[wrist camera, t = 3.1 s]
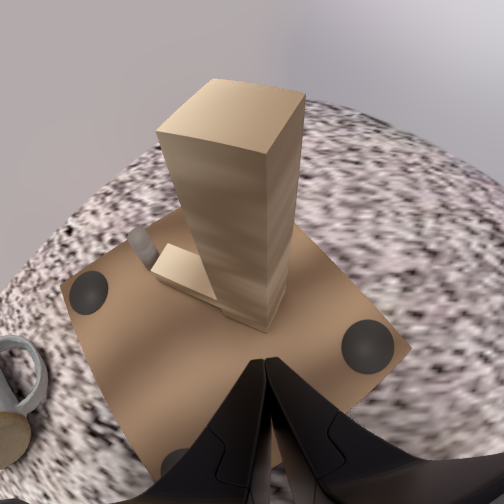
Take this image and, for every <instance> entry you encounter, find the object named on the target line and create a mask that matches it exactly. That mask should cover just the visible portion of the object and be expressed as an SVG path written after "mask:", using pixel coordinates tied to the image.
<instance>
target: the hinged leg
mask: <svg viewBox="0 0 504 504" xmlns="http://www.w3.org/2000/svg"><path fill="white" fill-rule="evenodd" d="M305 99H306V93H302V92H297V91H292V90H288V89H283V88H277V87H272V86H266V85H260V84H253V83H246V82H239V81H231V80H223V79H212V80H211V81H210V82H208V83H207V84H206V85H205V86H204V87H203V88H201V89H200V90H199V91H198V92H197V93H196V94H194V95H193V96H192V97H191V98H190V99H189V100H188V101H187V102H185V103H184V104H183V105H182V106H181V107H180V108H179V109H178V110H177V111H176V112H175V113H173V114H172V115H171V116H170V117H169V118H168V119H167V120H166V121H165V122H164V123H163V124H162V125H161V126H160V127H159V128H158V129H157V130H156V134H157V137H158V139H159V143H160V146H161V149H162V152H163V155H164V158H165V161H166V164H167V167H168V170H169V173H170V176H171V179H172V181H173V184H174V187H175V190H176V193H177V196H178V199H179V201H180V204H181V207H182V210H183V213H184V215H185V218H186V221H187V223H188V226H189V229H190V232H191V234H192V237H193V240H194V242H195V245H196V248H197V250H198V253H199V255H200V256H199V255H197V254H194V253H192V252H189V251H187V250H184V249H182V248H179V247H176V246H174V245H171V244H169V243H168V244H167V245H166V247H165V248H164V250H163V251H162V253H161V255H160V256H159V258H158V259H157V261H156V263H155V264H154V266H153V267H152V269H151V272H152V274H153V275H154V276H155V278H156V279H157V280H159V281H161V282H163V283H165V284H167V285H169V286H172V287H174V288H176V289H178V290H180V291H182V292H185V293H187V294H189V295H191V296H194V297H196V298H198V299H200V300H203V301H205V302H207V303H210V304H212V305H214V306H217V307H219V308H221V311H222V313H223V315H224V316H227V317H229V318H231V319H234V320H236V321H239V322H241V323H243V324H246V325H248V326H251V327H253V328H256V329H258V330H261V331H263V332H266V333H267V332H268V330H269V328H270V325H271V323H272V321H273V319H274V316H275V314H276V312H277V309H278V307H279V305H280V302H281V300H282V298H283V295H284V293H285V288H286V281H287V274H288V266H289V258H290V250H291V242H292V234H293V225H294V216H295V207H296V198H297V189H298V179H299V169H300V159H301V148H302V137H303V125H304V112H305Z"/></svg>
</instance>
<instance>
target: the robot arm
mask: <svg viewBox="0 0 504 504" xmlns="http://www.w3.org/2000/svg"><path fill="white" fill-rule="evenodd" d="M271 419H272V422H271ZM272 425H273V430H274V433H275V437H276V440H277V444H278V447H279V451H280V454H281V458H282V461H283V464H284V468H285V471H286V475H287V478H288V481H289V485H290V488H291V491H292V494H293V498H294V501H295V504H504V452H503V453H499V454H493V455H487V456H480V457H472V458H463V459H452V460H436V461H432V460H425V459H421V458H418V457H415V456H413V455H411V454H409V453H407V452H405V451H403V450H401V449H399V448H398V447H396V446H394V445H392V444H390V443H388V442H387V441H385V440H383V439H381V438H380V437H378V436H376V435H374V434H373V433H371V432H370V431H368V430H366V429H365V428H363V427H362V426H360V425H359V424H358V423H356V422H355V421H354V420H352V419H351V418H350V417H348V416H347V415H346V414H345V413H343V412H342V411H339V409H338V408H337V407H336V406H335V405H334V404H332V403H331V402H330V401H329V400H328V399H326V398H325V397H324V396H323V395H322V394H320V393H319V392H318V391H317V390H316V389H315V388H313V387H312V386H311V385H310V384H309V383H308V382H306V381H305V380H304V379H303V378H302V377H301V376H299V375H298V374H297V373H296V372H295V371H294V370H293V369H291V368H290V367H289V366H288V365H287V364H286V363H285V362H284V361H282V360H281V359H280V358H279V357H270V358H265V361H264V359H262V358H261V359H252V360H250V361H249V363H248V364H247V366H246V367H245V369H244V370H243V372H242V373H241V375H240V376H239V378H238V380H237V381H236V383H235V384H234V386H233V387H232V389H231V390H230V392H229V393H228V395H227V396H226V398H225V399H224V401H223V402H222V403H221V405H220V406H219V408H218V409H217V411H216V412H215V414H214V415H213V417H212V418H211V420H210V421H209V422H208V424H207V425H206V427H205V428H204V429H203V431H202V432H201V434H200V435H199V436H198V438H197V439H196V440H195V442H194V443H193V444H192V445H191V447H190V448H189V449H188V450H187V451H186V452H185V453H184V454H183V455H182V457H181V458H180V459H179V460H178V461H177V462H176V463H175V464H174V465H173V466H172V467H171V468H170V469H169V470H168V471H167V472H166V473H165V474H164V475H163V476H162V477H161V478H160V479H158V480H157V481H156V482H155V483H154V484H153V485H152V486H151V487H150V488H149V489H148V490H146V491H145V492H144V493H142V494H141V495H139V496H137V497H135V498H132V499H130V500H126V501H121V502H116V503H111V504H269V502H270V477H271V447H272ZM0 504H29V503H27V502H25V501H22V500H20V499H15V498H13V499H5V500H0Z"/></svg>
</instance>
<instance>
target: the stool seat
mask: <svg viewBox="0 0 504 504" xmlns="http://www.w3.org/2000/svg"><path fill="white" fill-rule="evenodd" d="M168 243H169V244H171V245H174V246H176V247H179V248H182V249H184V250H187V251H189V252H192V253H194V254H197V255H199V253H198V250H197V248H196V245H195V242H194V240H193V237H192V234H191V232H190V229H189V226H188V223H187V221H186V218H185V215H184V213H183V210H182V207H180V208H178V209H176V210H175V211H173V212H171V213H170V214H168V215H166V216H165V217H163V218H161V219H160V220H158V221H156V222H155V223H153V224H151V225H150V226H148V227H147V228H145V229H144V228H141V227H138V228H135V229H133V230H132V231H130V233H129V234H128V237H127V240H126V241H124V242H123V243H121V244H120V245H118V246H117V247H115V248H114V249H112V250H111V251H109V252H108V253H106V254H105V255H103V256H102V257H100V258H99V259H97V260H96V261H94V262H93V263H91V264H90V265H88V266H87V267H85V268H84V269H82V270H81V271H80V272H78V273H77V274H75V275H74V276H72V277H71V278H70V279H68V280H67V281H65V282H64V283H63V284H61V285H60V288H61V291H62V294H63V297H64V301H65V304H66V307H67V310H68V313H69V315H70V318H71V321H72V324H73V327H74V329H75V332H76V335H77V337H78V340H79V342H80V345H81V347H82V350H83V352H84V355H85V357H86V359H87V362H88V364H89V366H90V368H91V371H92V373H93V375H94V377H95V379H96V381H97V384H98V386H99V388H100V390H101V392H102V394H103V396H104V398H105V400H106V402H107V404H108V406H109V408H110V409H111V411H112V413H113V415H114V417H115V419H116V420H117V422H118V424H119V426H120V428H121V429H122V431H123V433H124V434H125V436H126V438H127V439H128V441H129V443H130V444H131V446H132V448H133V449H134V451H135V452H136V454H137V455H138V457H139V459H140V460H141V462H142V463H143V465H144V466H145V468H146V469H147V470H148V472H149V473H150V475H151V476H152V478H153V479H154V480H155V482H156V481H157V480H158V479H160V478H161V477H162V476H163V475H164V474H165V473H166V472H167V471H168V470H169V469H170V468H171V467H172V466H173V465H174V464H175V463H176V462H177V461H178V460H179V459H180V458H181V457H182V455H183V454H184V453H185V452H186V451H187V450H188V449H189V448H190V447H191V445H192V444H193V443H194V442H195V440H196V439H197V438H198V436H199V435H200V434H201V432H202V431H203V429H204V428H205V427H206V425H207V424H208V422H209V421H210V420H211V418H212V417H213V415H214V414H215V412H216V411H217V409H218V408H219V406H220V405H221V403H222V402H223V401H224V399H225V398H226V396H227V395H228V393H229V392H230V390H231V389H232V387H233V386H234V384H235V383H236V381H237V380H238V378H239V376H240V375H241V373H242V372H243V370H244V369H245V367H246V366H247V364H248V363H249V361H250V360H252V359H261V358H262V359H264V361H265V358H270V357H279V358H280V359H281V360H282V361H284V362H285V363H286V364H287V365H288V366H289V367H290V368H291V369H293V370H294V371H295V372H296V373H297V374H298V375H299V376H301V377H302V378H303V379H304V380H305V381H306V382H308V383H309V384H310V385H311V386H312V387H313V388H315V389H316V390H317V391H318V392H319V393H320V394H322V395H323V396H324V397H325V398H326V399H328V400H329V401H330V402H331V403H332V404H334V405H335V406H336V407H337V408H338V409H339V411H342V412H343V413H345V414H346V413H347V412H348V411H349V410H350V409H351V408H352V407H354V406H355V405H356V404H357V403H358V402H359V401H360V400H361V399H363V398H364V397H365V396H366V395H367V394H368V393H369V392H370V391H371V390H372V389H373V388H374V387H375V386H376V385H377V384H378V383H379V382H381V381H382V380H383V379H384V378H385V377H386V376H387V375H388V374H389V373H390V372H391V370H392V369H393V368H394V367H395V366H396V365H397V364H398V363H399V362H400V361H401V360H402V359H403V358H404V357H405V356H406V355H407V354H408V352H409V351H410V350H411V349H412V348H411V347H410V345H409V344H408V343H407V342H406V341H405V340H404V339H403V337H402V336H401V335H400V334H399V333H398V332H397V331H396V329H395V328H394V327H393V326H392V325H391V324H390V323H389V322H388V320H387V319H386V318H385V317H384V316H383V315H382V314H381V313H380V312H379V311H378V309H377V308H376V307H375V306H374V305H373V304H372V303H371V302H370V301H369V300H368V298H367V297H366V296H365V295H364V294H363V293H362V292H361V291H360V290H359V289H358V288H357V287H356V286H355V284H354V283H353V282H352V281H351V280H350V279H349V278H348V277H347V276H346V275H345V274H344V273H343V272H342V271H341V270H340V269H339V268H338V267H337V265H336V264H335V263H334V262H333V261H332V260H331V259H330V258H329V257H328V256H327V255H326V254H325V253H324V252H323V251H322V250H321V249H320V248H319V247H318V246H317V245H316V244H315V243H314V242H313V241H312V240H311V239H310V238H309V237H308V236H307V235H306V234H305V233H304V232H303V231H302V230H301V229H300V228H299V227H298V226H297V225H296V224H295V223H294V225H293V234H292V242H291V250H290V258H289V266H288V274H287V281H286V288H285V293H284V295H283V298H282V300H281V302H280V305H279V307H278V309H277V312H276V314H275V316H274V319H273V321H272V323H271V325H270V328H269V330H268V332H267V333H266V332H263V331H261V330H258V329H256V328H253V327H251V326H248V325H246V324H243V323H241V322H239V321H236V320H234V319H231V318H229V317H227V316H224V315H223V313H222V311H221V308H219V307H217V306H214V305H212V304H210V303H207V302H205V301H203V300H200V299H198V298H196V297H194V296H191V295H189V294H187V293H185V292H182V291H180V290H178V289H176V288H174V287H172V286H169V285H167V284H165V283H163V282H161V281H159V280H157V279H156V278H155V276H154V275H153V274H152V272H151V269H152V267H153V266H154V264H155V263H156V261H157V259H158V258H159V256H160V255H161V253H162V251H163V250H164V248H165V247H166V245H167V244H168ZM199 256H200V255H199ZM271 422H272V419H271ZM281 462H283V461H282V458H281V454H280V451H279V447H278V444H277V440H276V437H275V433H274V430H273V425H272V447H271V469H272V468H274V467H275V466H277V465H278V464H280V463H281Z"/></svg>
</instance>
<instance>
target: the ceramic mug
mask: <svg viewBox="0 0 504 504" xmlns="http://www.w3.org/2000/svg"><path fill="white" fill-rule="evenodd" d="M11 348H23V349H26V350H27V351H28V352H29V353H30V355H31V357H32V359H33V361H34V363H35V372H36V373H37V382H36V384H35V386H34V388H33V390H32V391H31V392H30V393H29V394H28V396H27V397H26V398H25V399H23V400H22V401H21V402H20V403H19V402H18V400H17V398H16V396H15V395H14V394H13V392H12V391H11V389H10V387H9V385H8V383H7V381H6V379H5V377H4V375H3V372H2V370H1V368H0V470H1V469H3V468H5V467H7V466H9V465H11V464H13V463H14V462H15V461H17V460H18V459H19V458H20V457H21V456H22V455H23V454H24V452H25V451H26V449H27V447H28V445H29V443H30V438H31V427H30V425H29V423H28V420H27V414H29V413H30V412H31V411H33V410H34V409H35V408H36V407H37V406H38V405H39V403H40V402H41V401H42V399H43V397H44V396H45V394H46V391H47V387H48V372H47V367H46V365H45V363H44V361H43V359H42V357H41V355H40V354H39V353H38V351H37V349H36V348H35V347H34V345H33V344H32V343H31V342H30V341H29V340H27V339H25V338H23V337H20V336H15V335H6V336H1V337H0V352H3V351H5V350H7V349H11Z"/></svg>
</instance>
